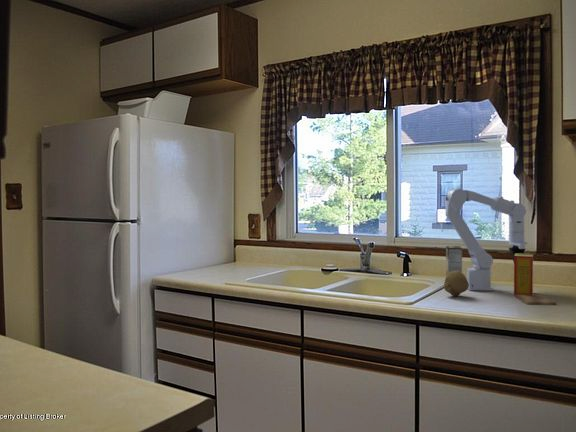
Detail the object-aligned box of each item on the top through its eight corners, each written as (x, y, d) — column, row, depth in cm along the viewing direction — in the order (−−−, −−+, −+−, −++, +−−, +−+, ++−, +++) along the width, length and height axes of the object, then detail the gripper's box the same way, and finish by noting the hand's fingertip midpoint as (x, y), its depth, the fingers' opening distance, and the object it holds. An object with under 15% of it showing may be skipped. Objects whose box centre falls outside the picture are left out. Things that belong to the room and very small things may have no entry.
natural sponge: (473, 296, 198) (473, 270, 197) (461, 299, 192) (461, 273, 192) (452, 293, 205) (452, 268, 204) (440, 296, 199) (440, 270, 198)
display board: (526, 304, 182) (526, 302, 182) (514, 296, 196) (514, 294, 196) (556, 304, 181) (556, 302, 181) (542, 297, 195) (542, 295, 195)
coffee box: (445, 280, 236) (445, 245, 236) (459, 280, 235) (459, 245, 234) (447, 283, 227) (447, 247, 227) (462, 283, 226) (462, 247, 225)
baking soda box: (532, 296, 196) (532, 255, 195) (514, 295, 199) (514, 254, 198) (532, 292, 204) (533, 253, 204) (515, 291, 207) (515, 252, 206)
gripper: (532, 233, 203) (533, 266, 203) (521, 230, 217) (521, 261, 218) (514, 233, 204) (514, 266, 204) (503, 230, 218) (504, 262, 219)
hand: (517, 264), depth 211 cm, fingers closed
